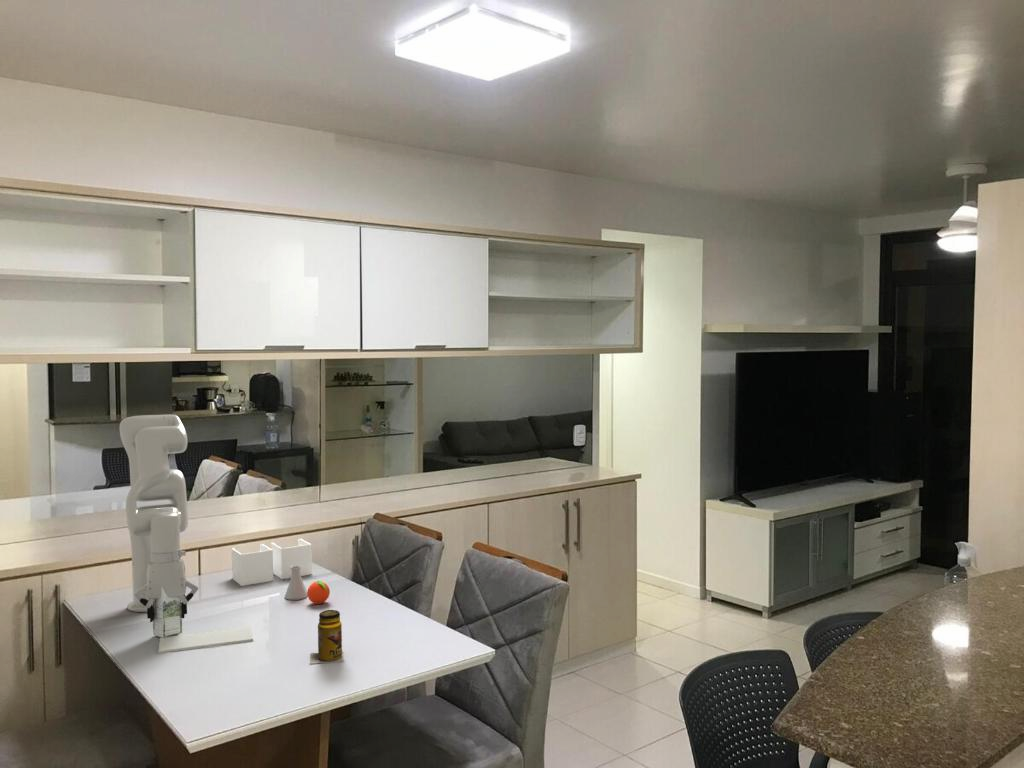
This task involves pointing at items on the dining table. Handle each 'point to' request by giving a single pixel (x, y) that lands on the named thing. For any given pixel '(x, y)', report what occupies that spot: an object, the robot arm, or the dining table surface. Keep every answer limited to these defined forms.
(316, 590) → the clementine
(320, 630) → the condiment
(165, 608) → the syrup box
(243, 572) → the white double bin
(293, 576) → the flask
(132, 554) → the robot arm
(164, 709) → the dining table surface
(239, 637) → the mat
